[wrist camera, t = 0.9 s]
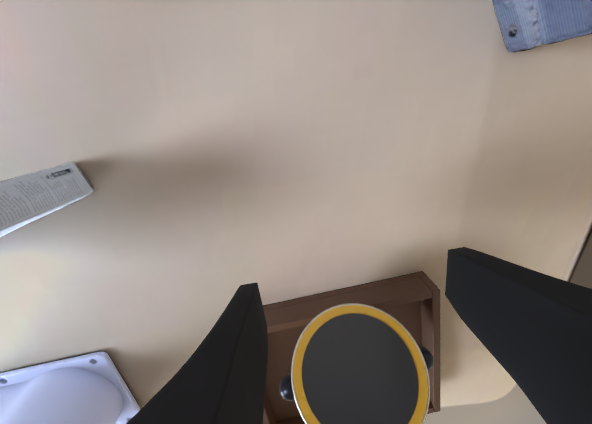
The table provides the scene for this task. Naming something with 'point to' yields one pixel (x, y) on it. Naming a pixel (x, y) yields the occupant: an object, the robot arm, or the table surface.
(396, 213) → the table surface
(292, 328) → the tray
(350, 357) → the pot
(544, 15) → the vhs cassette tape
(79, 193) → the ink box
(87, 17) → the table surface
